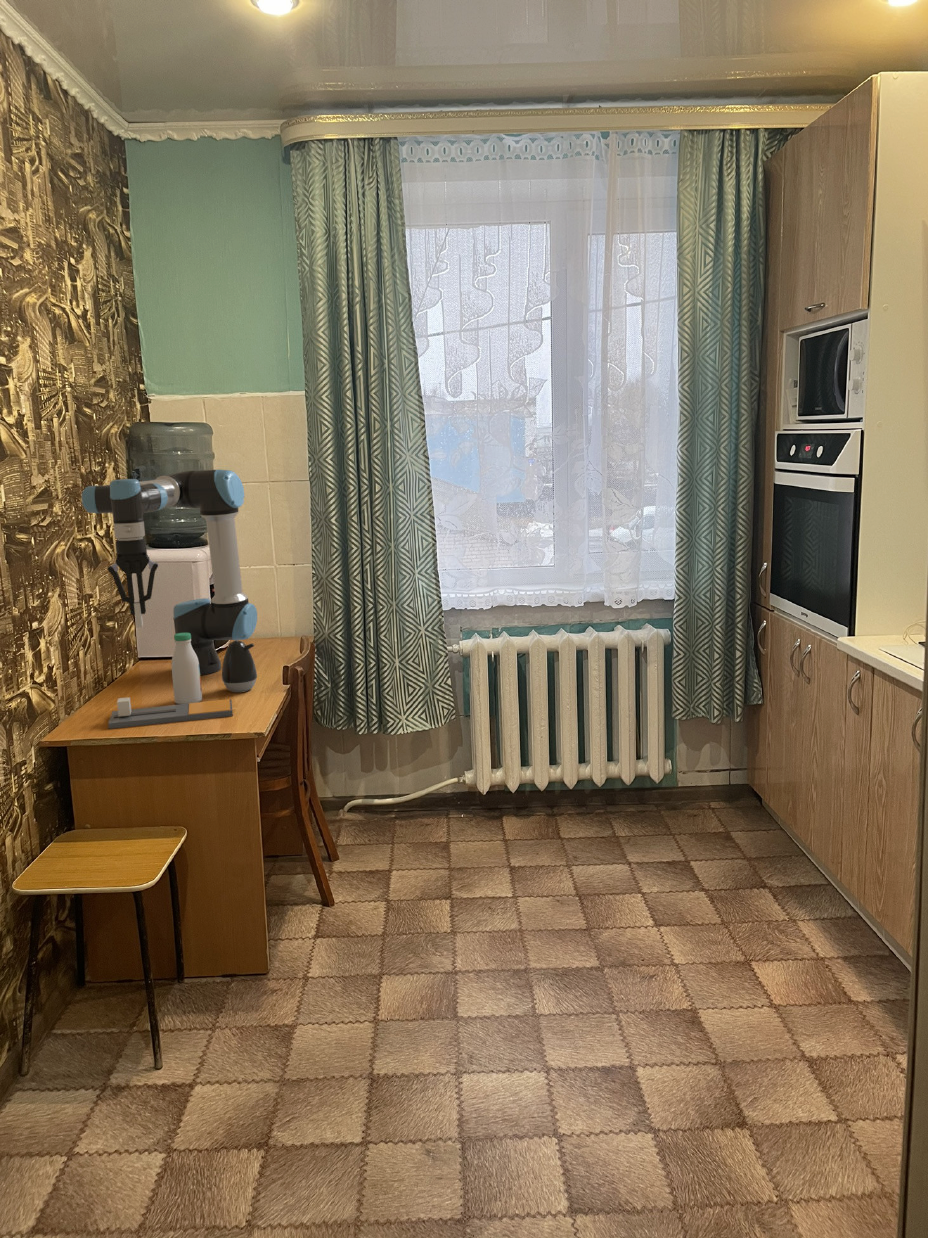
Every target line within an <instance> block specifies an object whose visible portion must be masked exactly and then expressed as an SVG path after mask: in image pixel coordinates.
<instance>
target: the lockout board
mask: <svg viewBox="0 0 928 1238" xmlns="http://www.w3.org/2000/svg"><path fill="white" fill-rule="evenodd" d="M233 716H234V715H233V701H232V699H229V698H228V699H218V700H211V701H209V700H208V701H200V702H197V703H189V704H172V705H171V704H169V705H163V706H161V705H160V706H152V707H142V708H140V707H139V708H133V709H132V708H131V715H129V716H118V710H112V712H111V714H110V718H109V720H108V723H107V725H108V729H109V730H111V729H112V730H113V729H121V728H130V727H140V726H149V725H159V724H160V725H161V724H168V723H179V722H188V721H199V720H206V719H216V718H224V717H225V718H226V717H227V718H229V717H233Z"/></svg>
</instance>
